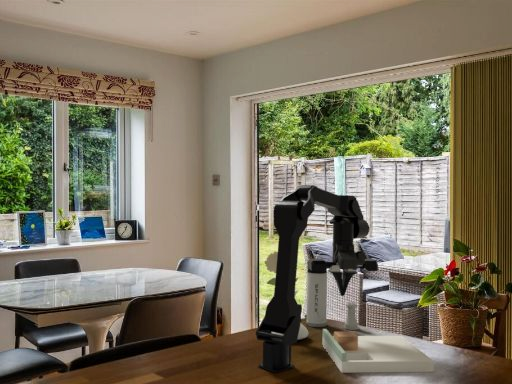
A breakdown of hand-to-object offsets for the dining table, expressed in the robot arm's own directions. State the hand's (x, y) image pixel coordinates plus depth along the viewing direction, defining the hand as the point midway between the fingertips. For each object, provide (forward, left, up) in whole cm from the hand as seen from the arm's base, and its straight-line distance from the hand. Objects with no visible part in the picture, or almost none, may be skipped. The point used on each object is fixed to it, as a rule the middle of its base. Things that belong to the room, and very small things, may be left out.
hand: (342, 295), depth 154 cm
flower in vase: (-9, +13, -13) cm, 21 cm away
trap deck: (-5, -15, -13) cm, 20 cm away
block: (-11, -10, -10) cm, 18 cm away
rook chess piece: (+15, +8, -13) cm, 22 cm away
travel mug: (+10, +18, -13) cm, 24 cm away
